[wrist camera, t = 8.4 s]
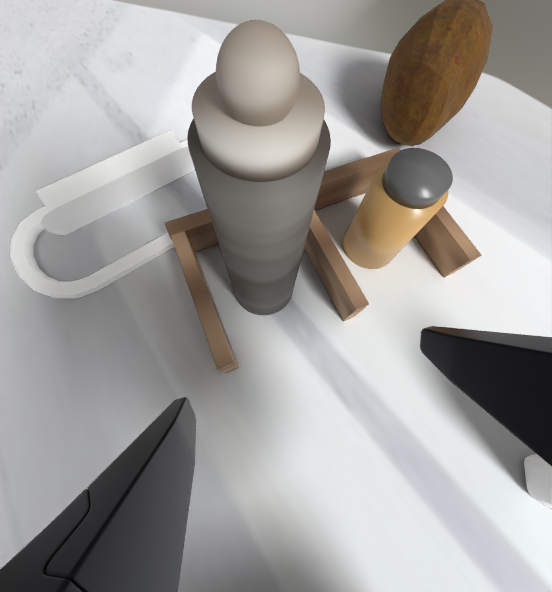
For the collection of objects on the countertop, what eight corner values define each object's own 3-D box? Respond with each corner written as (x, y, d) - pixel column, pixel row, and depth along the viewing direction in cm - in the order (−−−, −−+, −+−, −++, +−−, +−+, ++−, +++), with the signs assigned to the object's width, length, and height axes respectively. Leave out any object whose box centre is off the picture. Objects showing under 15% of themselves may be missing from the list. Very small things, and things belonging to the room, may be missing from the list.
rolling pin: (64, 320, 21) (29, 317, 17) (8, 238, 21) (-38, 217, 17) (264, 203, 26) (271, 181, 22) (218, 137, 26) (216, 104, 22)
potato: (340, 127, 27) (372, 12, 19) (402, 75, 30) (453, -41, 22) (408, 171, 25) (476, 66, 17) (467, 111, 29) (547, -1, 20)
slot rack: (454, 272, 22) (482, 254, 19) (223, 373, 18) (216, 370, 15) (383, 175, 25) (398, 147, 22) (177, 244, 22) (164, 222, 19)
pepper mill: (295, 312, 20) (377, 92, 5) (235, 317, 20) (143, 96, 5) (289, 259, 22) (340, -26, 7) (233, 262, 21) (160, -28, 7)
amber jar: (404, 258, 22) (475, 188, 14) (359, 276, 21) (410, 213, 14) (377, 217, 23) (429, 135, 16) (334, 233, 23) (367, 155, 15)
